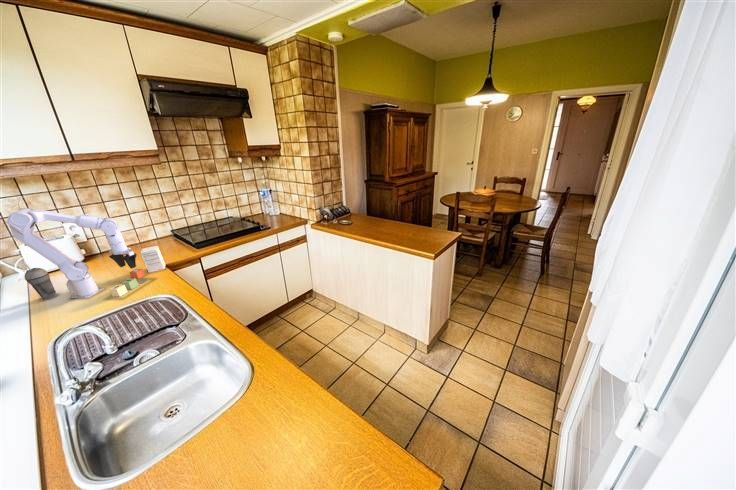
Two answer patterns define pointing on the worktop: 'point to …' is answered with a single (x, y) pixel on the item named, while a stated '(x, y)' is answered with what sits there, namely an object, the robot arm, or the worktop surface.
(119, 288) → the pale yellow cube
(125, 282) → the pale green cube
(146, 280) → the word mat
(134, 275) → the coral red cube
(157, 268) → the white packaging box
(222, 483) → the worktop surface
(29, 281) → the beverage cup
